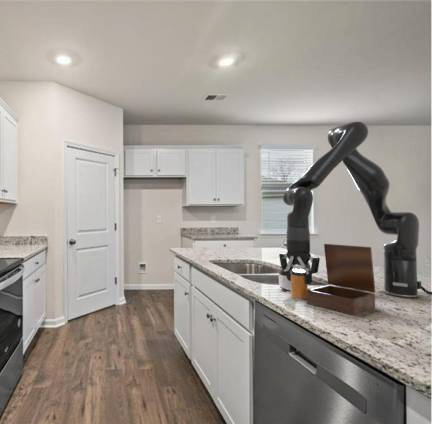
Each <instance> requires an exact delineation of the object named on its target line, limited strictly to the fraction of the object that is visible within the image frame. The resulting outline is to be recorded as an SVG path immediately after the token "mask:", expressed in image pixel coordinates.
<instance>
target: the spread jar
mask: <svg viewBox="0 0 432 424" xmlns="http://www.w3.org/2000/svg"><path fill="white" fill-rule="evenodd" d="M287 264H288V262H287ZM293 269H299V270H303V268H302V266H300V265H295V266H294V267H293ZM278 285H279V288H280V289H281V290H282V291H283V292H286V293H287V292H291V281H288V279H287V271H286V270H285V269H282V268H281V269H280V270H279V272H278ZM307 285H308V286H309V285H310V284H307Z"/></svg>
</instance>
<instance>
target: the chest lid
mask: <svg viewBox="0 0 432 424" xmlns="http://www.w3.org/2000/svg"><path fill="white" fill-rule="evenodd" d="M323 248H324V257H325V258H324V259H325V267H326V276H327V278H326V279H327V285H331V286H335V285H336V286H342V287H347V288H353V289H358V290H363V291H364V292H368V293H376V284H375V283H376V282H375V273H374V264H373V263H374V262H373V251H372V246H361V245H350V244H349V245H348V244H337V243H336V244H334V243H324V244H323Z"/></svg>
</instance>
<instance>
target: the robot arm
mask: <svg viewBox="0 0 432 424" xmlns="http://www.w3.org/2000/svg"><path fill="white" fill-rule="evenodd" d="M368 135H369V128H368V126H367V125H366V124H365V123H364V122H362V121H351V122H348V123H345V124H341V125H338V126H335V127H333V128H331V129H330V130H329V131H328V133H327V141H328V144H329V146H330V147H331V149H329V150H328V151H327V152H325V153H324V154H323V155H322V156H320V157H319V158H317V159H316V160H315V161H314V162H313V163H311V164H310V166H309V167H308V168H307V169H306V170H305V171H304V172H303V174H302V175H301V177H299V178H298V179H297V180H296V181H294V182H293V183H292V184H290V185H289V187H287V188H286V190H285V191H284V192H283V195H282V200H283V202H284V204H285V205H288V206H290V207H292V211H290V212H288V213H287V215H286V221H287V222H286V251H287V252H286V253H279V254H278V256H279V257H278V258H279V263H280V268H281V269H285V270H286V271H287V279H288V281H291V274H290V270H291V269H293V267H294V266H295V265H300V266H302V270H304V271H305V273H306V274H305V284H309V285H311V283H312V282H313V275H314V274H318V272H319V266H320V260H321V259H320V257H314V256H312V255H311V232H310V220H309V219H310V217H309V216H310V213H311V211H312V208H313V203H314V195H313V192H312V191H313V190H315V189H317V188H319V187H320V186H321V184H323V182H324V181H325V180H326V178H327V177H328V176H329V175H330V174H331V173H332V171H334V170H335V168H336V167H337V166H339V164H340V163H341V162H342V164H343V166H345V168H346V170H347V171H348V173H349V175H350V176H351V178H352V180H353V182H354V184H355V185H356V188H357V189H358V190H359V192H360V193H361V195H362V197H363V198H364V201H365V202H366V204H367V206H368V208H369V210H370V213H371V215H372V218H373V220H374V222H375V224H376V226H377V228H378V230H379V231H380V232H381V233H382V234H385V235H390V236H392V235H393V236H397V237H396V240H394V241H392V242H388V243H385V244H384V245H383V286H384V287H383V288H384V290H383V293H385V294H386V295H390V296H394V297H400V298H409V299H412V298H413V299H414V298H418V297H419V294H418V290H422V292H423V293H426V294H428V295H432V291H429V290H427V289H426V288H425V287H424V286H422V281H420V280H418V262H417V261H418V260H417V249H418V247H419V238H420V237H419V235H420V220H419V218H418V216H417V215H416V214H415V213H414V212H409V211H399V212H398V211H395V212H393V211H392V210H391V209H390V207H389V206H388V204H387V197H388V194H389V191H390V185H391V184H390V181H389V178H388V177H387V175H386V173H385V172H384V170H383V168H382V167H381V166H379V165H378V164H376V163H375V162H374V161H373V160H370V159H369V158H367V157H366V156H364V155H363V154H362V153H361V152H359V151H358V149H357V148H358V147H360V146H361V145H362V144H363V143H364V142H365V141H366V139H367V138H368ZM310 262H311V265H310ZM287 263H288V264H287Z"/></svg>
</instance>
